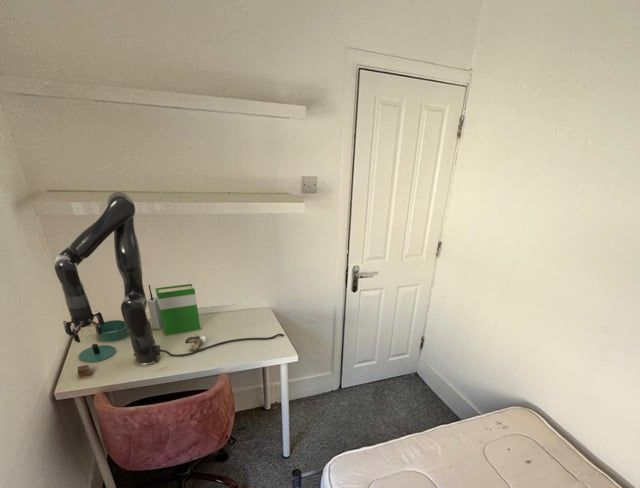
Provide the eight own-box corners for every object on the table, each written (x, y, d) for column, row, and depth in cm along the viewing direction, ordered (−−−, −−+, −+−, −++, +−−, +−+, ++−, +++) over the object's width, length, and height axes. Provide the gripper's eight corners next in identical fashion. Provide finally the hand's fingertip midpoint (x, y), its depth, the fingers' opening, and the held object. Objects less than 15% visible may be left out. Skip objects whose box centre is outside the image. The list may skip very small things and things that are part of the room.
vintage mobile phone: (163, 325, 215) (155, 282, 202) (160, 329, 211) (151, 286, 198) (157, 324, 215) (147, 282, 202) (153, 329, 211) (143, 286, 198)
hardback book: (197, 323, 220) (191, 283, 207) (200, 329, 215) (194, 288, 202) (163, 329, 211) (155, 288, 199) (165, 335, 206) (157, 293, 194)
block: (90, 372, 174) (88, 364, 172) (91, 376, 171) (88, 369, 169) (80, 374, 172) (77, 366, 170) (80, 378, 169) (77, 371, 167)
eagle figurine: (191, 339, 202) (181, 344, 194) (198, 329, 200) (188, 334, 192) (203, 348, 203) (193, 354, 195) (210, 339, 201) (200, 344, 192)
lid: (117, 345, 194) (114, 335, 191) (113, 361, 182) (110, 351, 179) (83, 349, 189) (79, 338, 186) (76, 365, 177) (72, 354, 174)
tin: (131, 328, 210) (129, 319, 207) (128, 340, 198) (125, 331, 196) (101, 330, 205) (98, 321, 202) (96, 343, 194) (93, 334, 191)
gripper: (64, 312, 152) (76, 347, 160) (101, 301, 162) (110, 335, 171) (54, 306, 155) (66, 341, 163) (91, 296, 165) (101, 329, 174)
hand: (89, 338), depth 167 cm, fingers open, 8 cm apart
